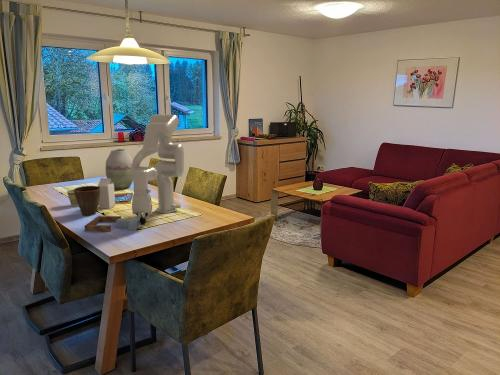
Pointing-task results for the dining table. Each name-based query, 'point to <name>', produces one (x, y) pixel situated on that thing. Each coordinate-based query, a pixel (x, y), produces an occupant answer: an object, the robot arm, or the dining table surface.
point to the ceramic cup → (72, 198)
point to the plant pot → (87, 199)
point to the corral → (103, 228)
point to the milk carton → (106, 193)
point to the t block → (128, 223)
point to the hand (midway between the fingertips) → (142, 224)
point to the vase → (119, 168)
